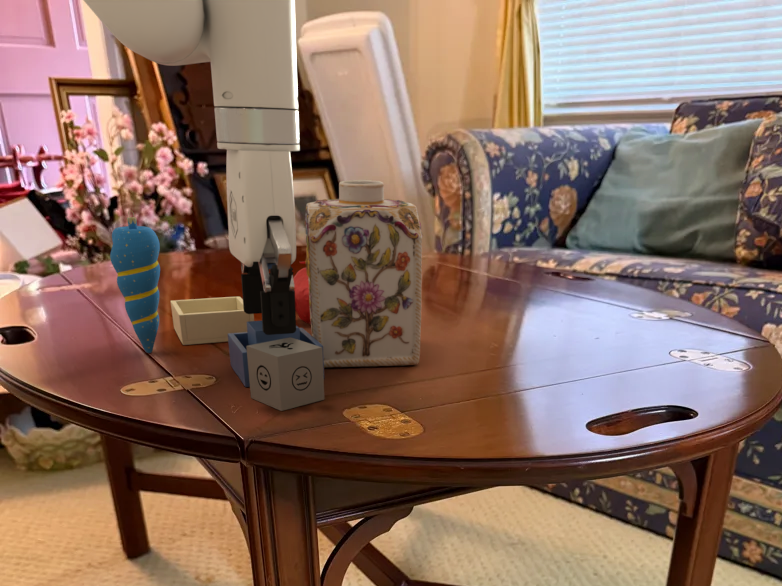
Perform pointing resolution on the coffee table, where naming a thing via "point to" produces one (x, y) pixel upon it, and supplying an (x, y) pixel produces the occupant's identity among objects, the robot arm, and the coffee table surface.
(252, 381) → the dice cube
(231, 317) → the cream bin
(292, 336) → the blue block
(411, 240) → the decorative jar
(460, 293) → the coffee table surface
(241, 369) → the blue bin
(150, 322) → the ornament
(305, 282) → the pomegranate
